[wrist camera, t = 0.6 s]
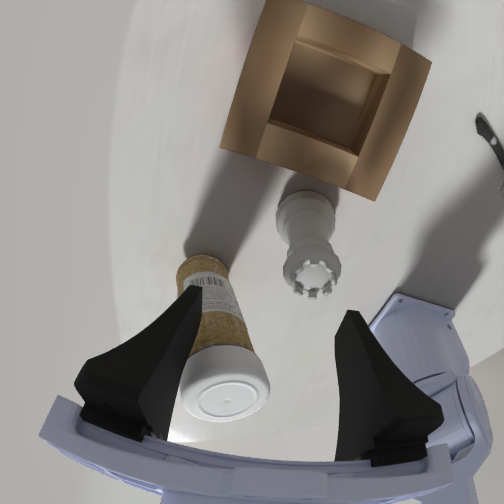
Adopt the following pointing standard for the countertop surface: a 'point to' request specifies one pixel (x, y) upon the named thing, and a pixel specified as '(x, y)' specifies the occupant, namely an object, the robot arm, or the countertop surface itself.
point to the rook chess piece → (308, 243)
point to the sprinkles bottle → (219, 350)
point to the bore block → (324, 97)
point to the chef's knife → (491, 143)
